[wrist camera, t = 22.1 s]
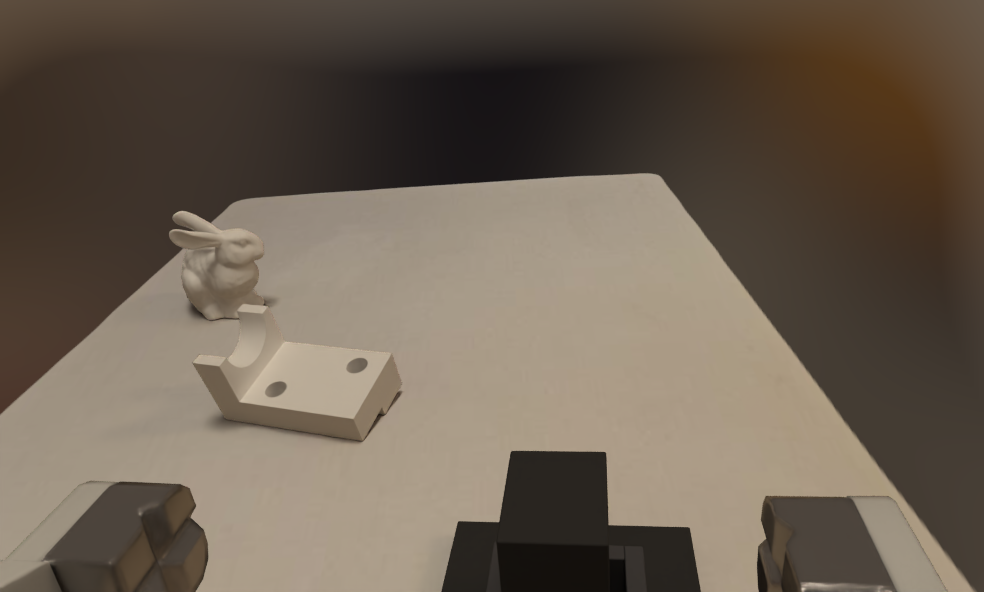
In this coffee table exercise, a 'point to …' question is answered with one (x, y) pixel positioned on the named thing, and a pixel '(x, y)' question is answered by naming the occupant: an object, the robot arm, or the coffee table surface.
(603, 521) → the pad block
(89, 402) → the coffee table surface
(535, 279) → the coffee table surface
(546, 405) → the coffee table surface
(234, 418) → the bracket
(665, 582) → the base pad
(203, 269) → the rabbit
